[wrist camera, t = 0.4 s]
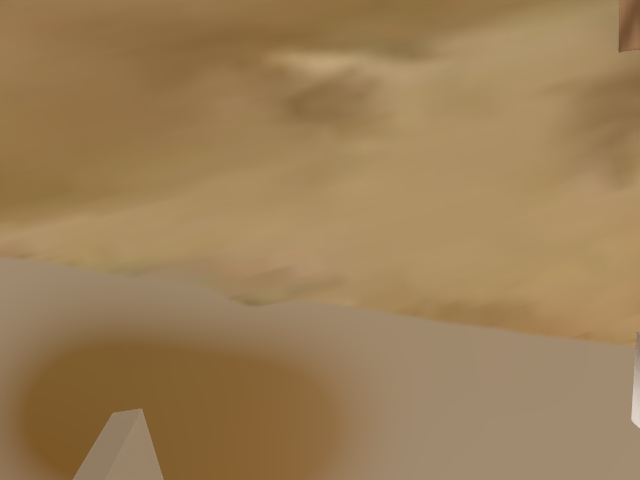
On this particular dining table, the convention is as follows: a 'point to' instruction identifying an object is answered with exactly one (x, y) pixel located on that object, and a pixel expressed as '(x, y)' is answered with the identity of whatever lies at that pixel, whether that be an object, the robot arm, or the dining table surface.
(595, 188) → the dining table surface
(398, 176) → the dining table surface
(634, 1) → the body
